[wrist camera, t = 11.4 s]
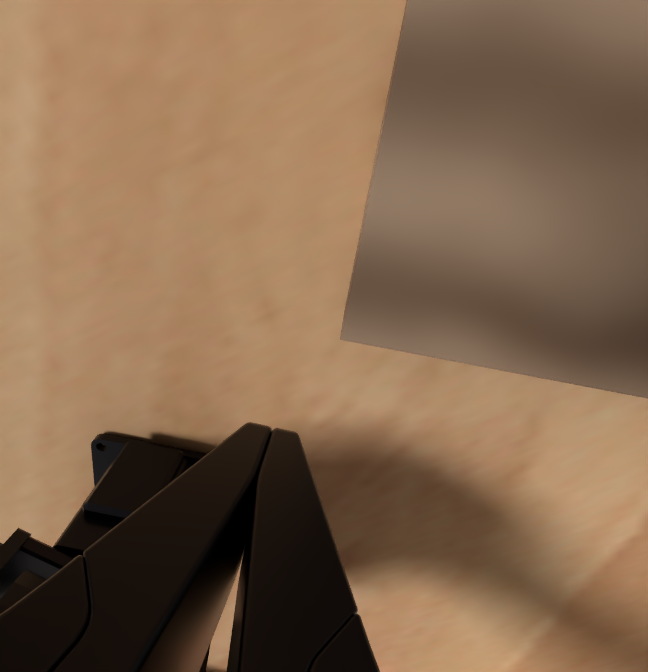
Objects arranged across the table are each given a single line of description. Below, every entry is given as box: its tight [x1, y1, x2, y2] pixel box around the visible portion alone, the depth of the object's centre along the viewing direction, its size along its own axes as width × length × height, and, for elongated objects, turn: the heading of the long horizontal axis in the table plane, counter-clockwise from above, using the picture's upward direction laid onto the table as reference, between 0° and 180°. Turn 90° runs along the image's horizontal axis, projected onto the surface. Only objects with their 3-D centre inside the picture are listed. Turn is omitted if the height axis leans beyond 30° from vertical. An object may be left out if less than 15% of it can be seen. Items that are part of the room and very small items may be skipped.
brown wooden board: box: [340, 0, 648, 398], centre depth 14 cm, size 16×13×2 cm
